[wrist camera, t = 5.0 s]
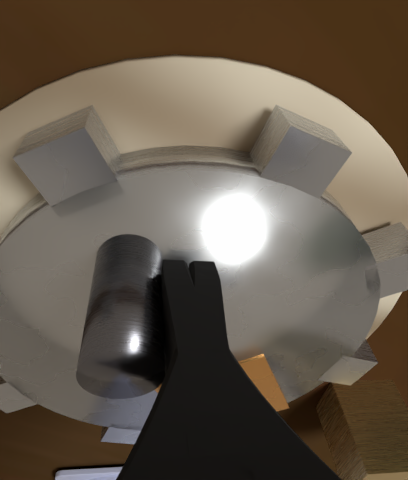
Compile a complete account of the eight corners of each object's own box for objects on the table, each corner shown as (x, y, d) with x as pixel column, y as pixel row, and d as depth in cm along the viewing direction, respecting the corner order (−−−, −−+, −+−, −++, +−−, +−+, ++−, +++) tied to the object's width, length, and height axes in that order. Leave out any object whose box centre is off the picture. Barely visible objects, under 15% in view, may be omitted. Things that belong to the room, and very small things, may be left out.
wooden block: (392, 379, 23) (439, 469, 19) (372, 404, 25) (411, 491, 21) (331, 380, 22) (367, 474, 19) (315, 406, 24) (345, 496, 20)
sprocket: (405, 358, 20) (472, 473, 16) (103, 443, 23) (92, 561, 19) (392, -25, 9) (606, 17, 5) (-198, 229, 12) (-397, 402, 7)
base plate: (320, 405, 24) (322, 411, 24) (-12, 417, 21) (-14, 424, 21) (523, 94, 12) (533, 98, 12) (-194, 5, 9) (-207, 8, 8)
